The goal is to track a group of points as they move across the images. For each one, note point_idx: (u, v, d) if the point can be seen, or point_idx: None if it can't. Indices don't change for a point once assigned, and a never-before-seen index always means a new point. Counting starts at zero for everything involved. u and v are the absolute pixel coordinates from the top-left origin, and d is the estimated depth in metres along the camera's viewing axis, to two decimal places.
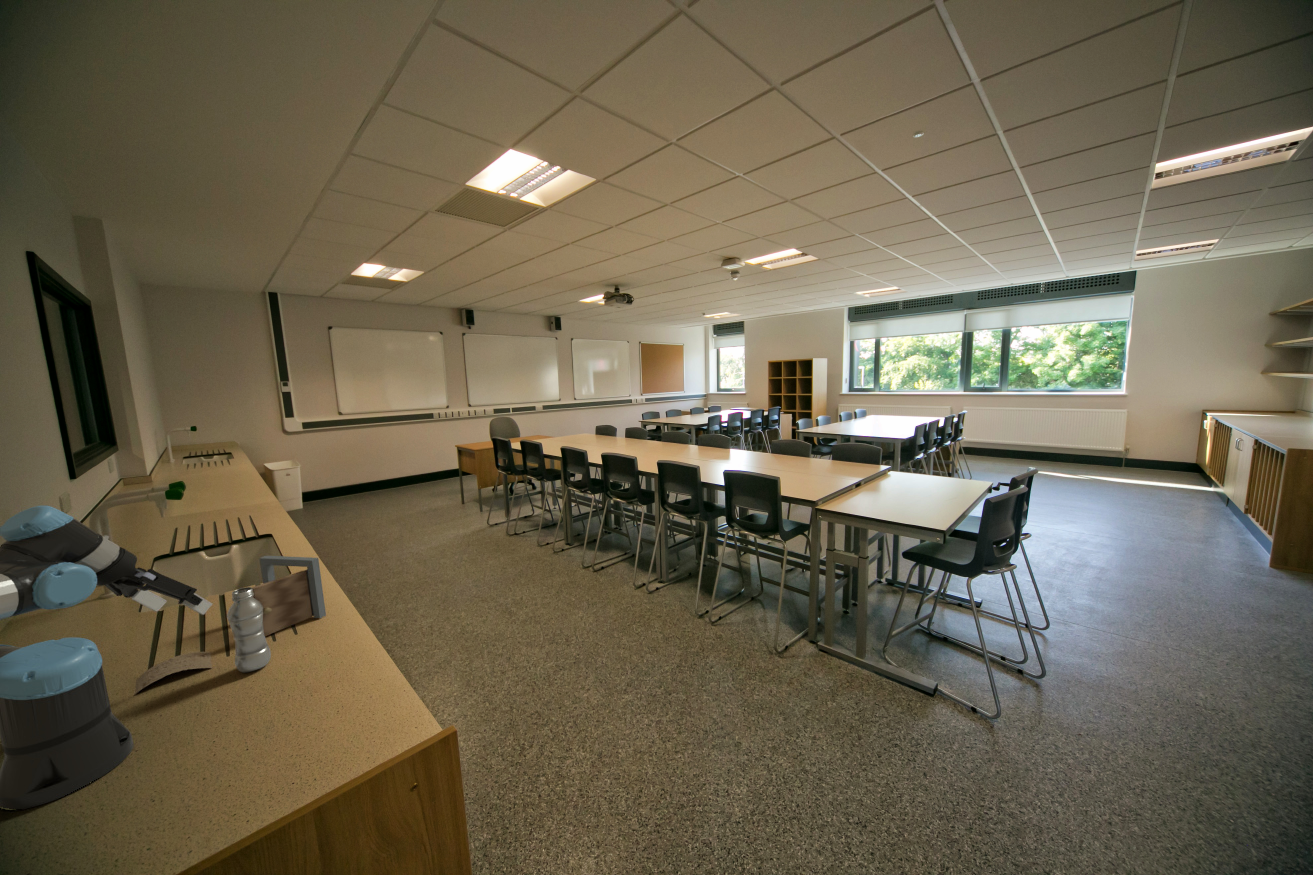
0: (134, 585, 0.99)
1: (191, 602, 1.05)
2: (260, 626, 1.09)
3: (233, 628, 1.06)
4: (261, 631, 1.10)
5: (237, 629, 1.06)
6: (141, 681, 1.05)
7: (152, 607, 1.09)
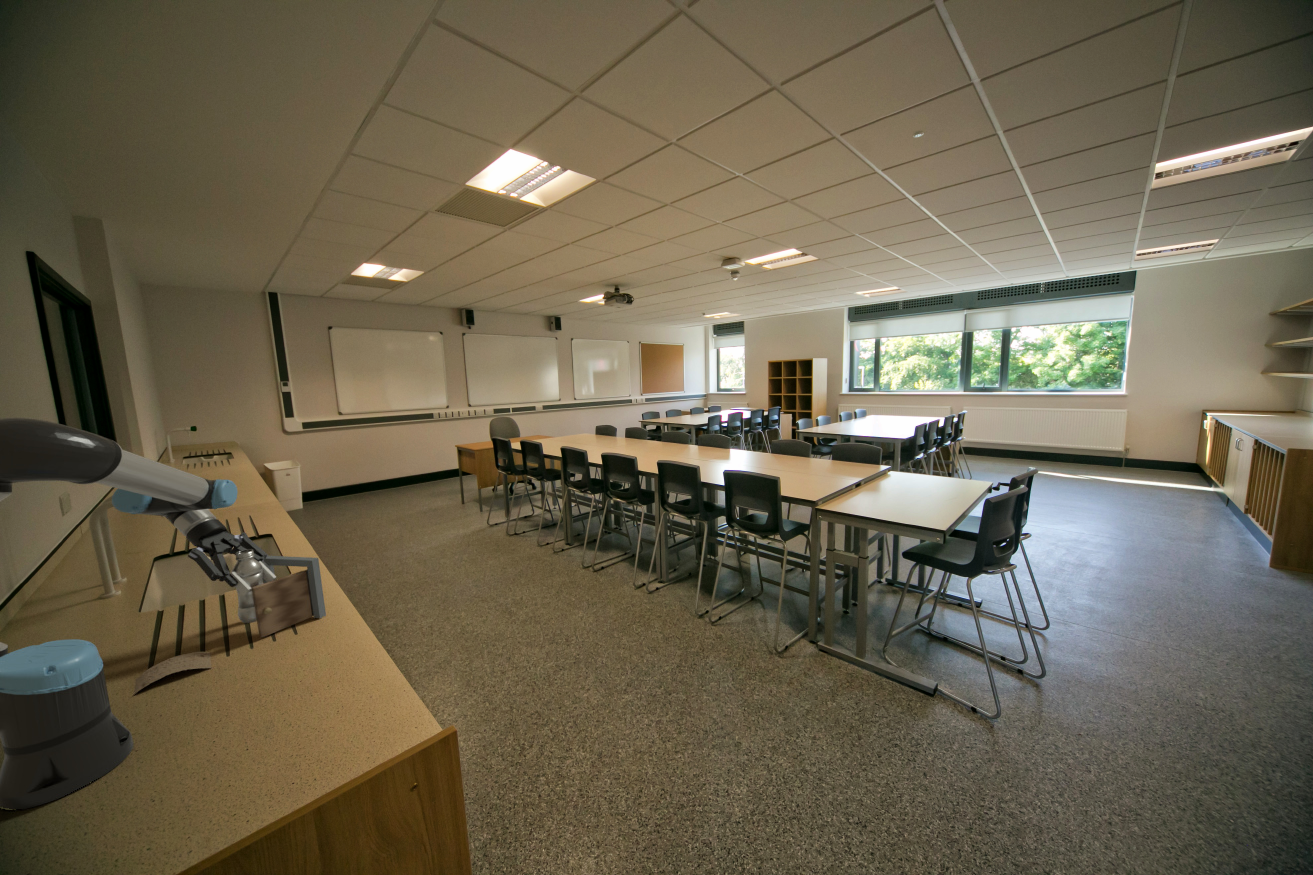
0: (232, 540, 1.27)
1: (265, 565, 1.29)
2: (260, 583, 1.26)
3: None
4: None
5: None
6: (141, 681, 1.05)
7: None
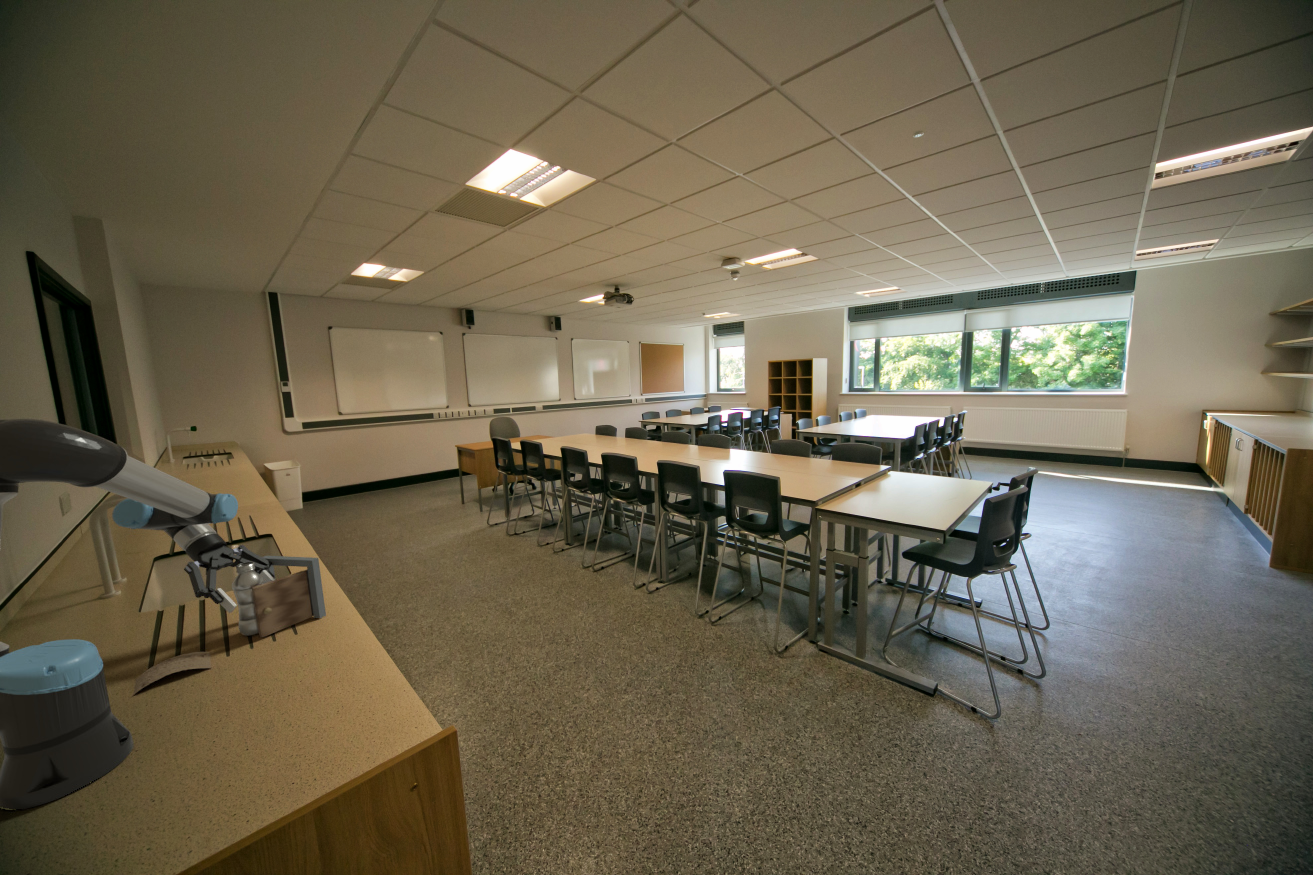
0: (232, 554, 1.26)
1: (270, 574, 1.30)
2: None
3: (238, 597, 1.22)
4: None
5: (242, 598, 1.22)
6: (141, 681, 1.05)
7: None
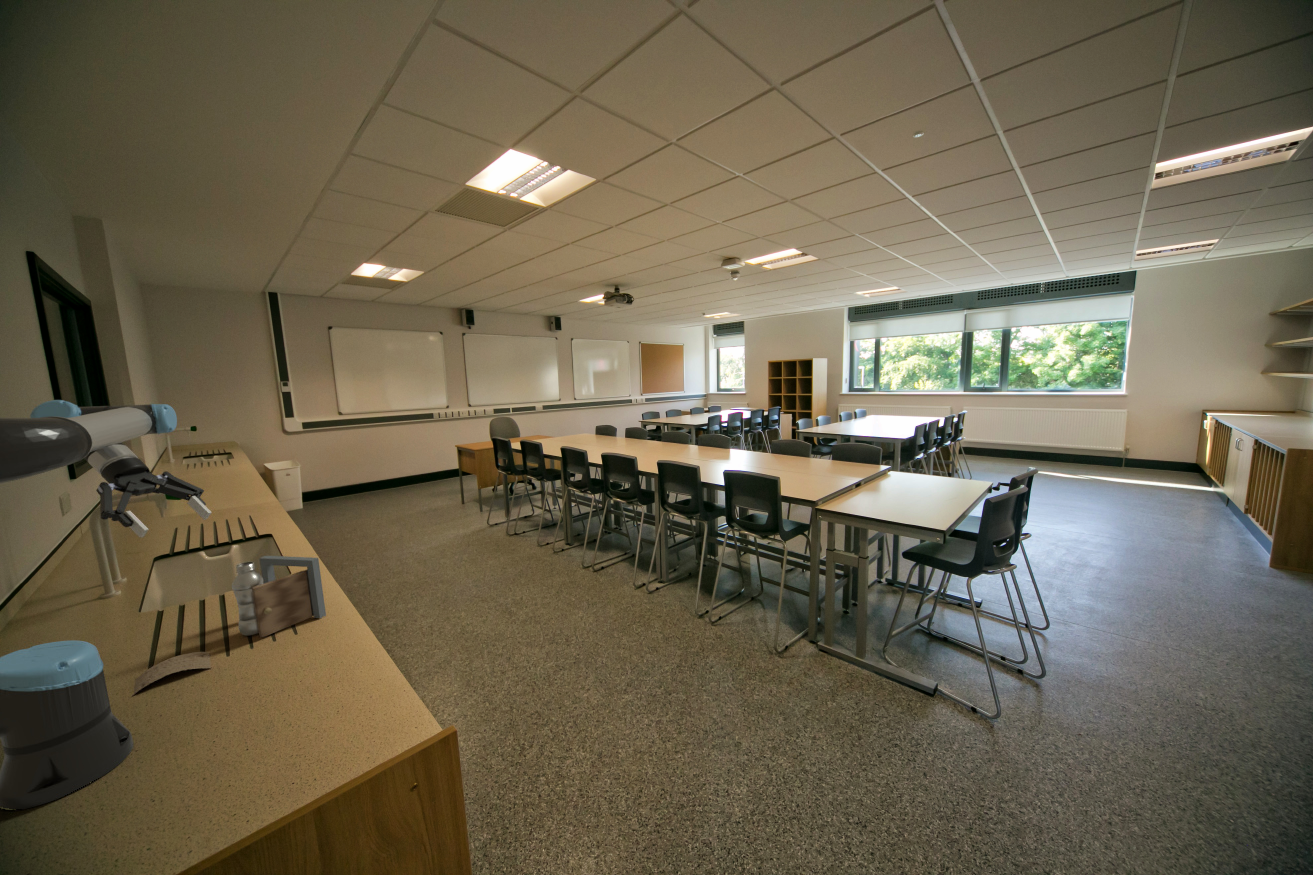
0: (155, 479, 1.18)
1: (200, 500, 1.23)
2: None
3: (238, 597, 1.22)
4: None
5: (242, 598, 1.22)
6: (140, 681, 1.05)
7: None
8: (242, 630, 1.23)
